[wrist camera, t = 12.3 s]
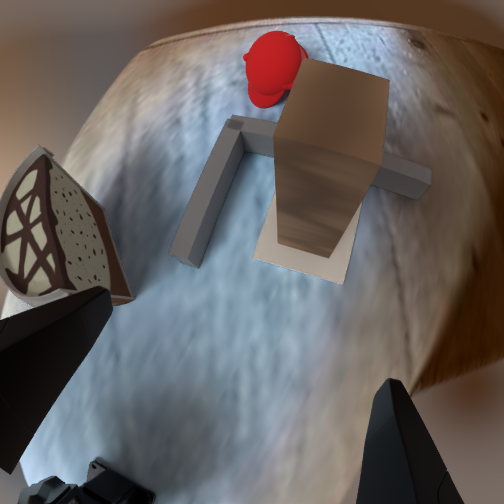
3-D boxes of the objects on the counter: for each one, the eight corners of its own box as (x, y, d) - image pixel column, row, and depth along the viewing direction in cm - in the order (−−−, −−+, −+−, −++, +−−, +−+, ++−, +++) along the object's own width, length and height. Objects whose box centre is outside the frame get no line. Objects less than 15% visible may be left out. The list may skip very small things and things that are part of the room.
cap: (261, 34, 26) (226, 33, 23) (311, 31, 24) (282, 26, 20) (267, 100, 31) (234, 110, 27) (316, 103, 28) (289, 112, 24)
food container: (55, 227, 26) (-13, 185, 16) (101, 196, 26) (38, 139, 17) (86, 344, 22) (0, 339, 13) (141, 316, 23) (62, 298, 13)
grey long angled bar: (395, 327, 21) (410, 325, 18) (181, 262, 24) (168, 252, 21) (418, 186, 24) (431, 169, 21) (234, 135, 26) (229, 114, 24)
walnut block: (343, 200, 23) (389, 80, 11) (328, 258, 22) (381, 165, 10) (295, 186, 24) (303, 57, 12) (277, 243, 23) (272, 135, 10)
